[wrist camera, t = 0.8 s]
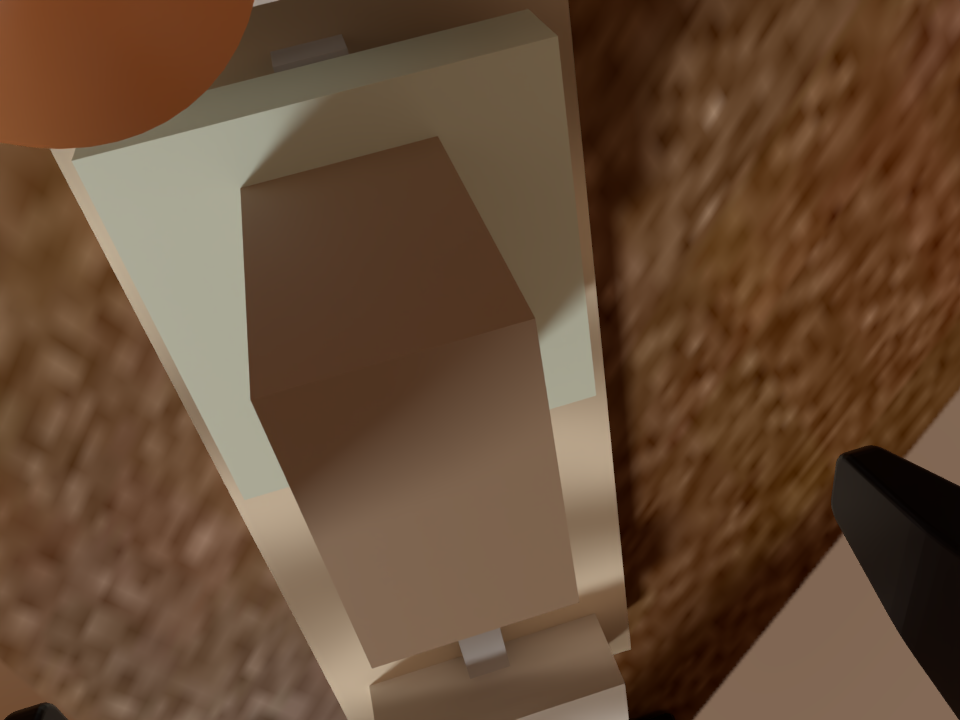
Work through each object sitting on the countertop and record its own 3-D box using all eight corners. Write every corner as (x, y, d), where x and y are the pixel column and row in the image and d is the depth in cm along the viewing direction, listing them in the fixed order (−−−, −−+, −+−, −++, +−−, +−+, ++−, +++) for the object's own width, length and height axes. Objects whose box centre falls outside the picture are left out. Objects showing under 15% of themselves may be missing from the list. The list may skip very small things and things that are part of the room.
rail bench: (617, 618, 28) (696, 796, 23) (352, 703, 27) (380, 905, 23) (498, -455, 12) (681, -575, 7) (-164, -322, 11) (-442, -356, 6)
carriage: (571, 351, 18) (712, 601, 13) (242, 447, 17) (252, 750, 12) (528, 9, 13) (716, 180, 8) (85, 121, 13) (-3, 380, 8)
